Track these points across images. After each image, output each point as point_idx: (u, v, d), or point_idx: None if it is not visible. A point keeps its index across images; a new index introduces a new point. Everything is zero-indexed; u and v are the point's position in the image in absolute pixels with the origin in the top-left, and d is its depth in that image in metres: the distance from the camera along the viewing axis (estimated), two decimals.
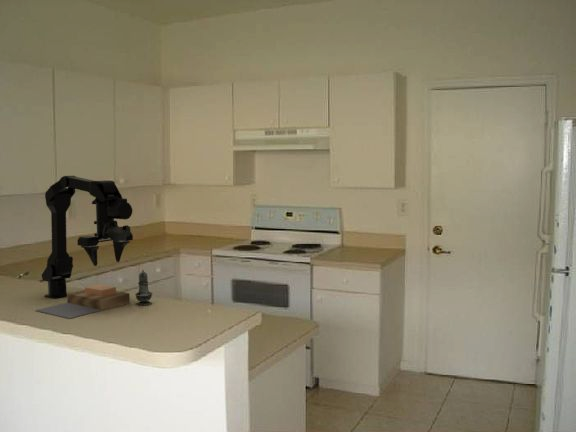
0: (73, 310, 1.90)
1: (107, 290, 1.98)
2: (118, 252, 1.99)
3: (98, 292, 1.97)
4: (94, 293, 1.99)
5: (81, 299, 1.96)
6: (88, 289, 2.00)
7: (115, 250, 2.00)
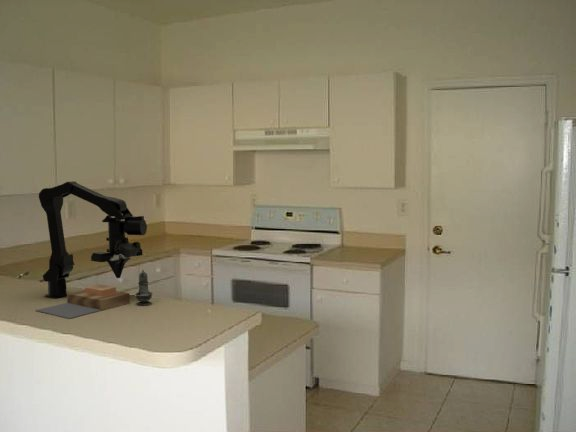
0: (73, 310, 1.90)
1: (107, 290, 1.98)
2: (119, 268, 2.07)
3: (98, 292, 1.97)
4: (94, 293, 1.99)
5: (81, 299, 1.96)
6: (88, 289, 2.00)
7: None
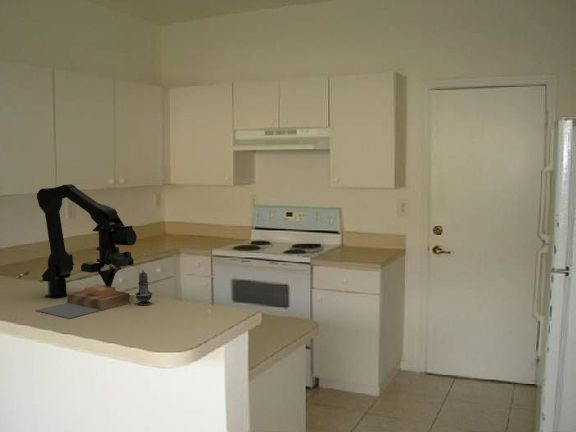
0: (73, 310, 1.90)
1: (107, 290, 1.98)
2: None
3: (98, 292, 1.97)
4: (94, 293, 1.98)
5: (81, 299, 1.96)
6: (88, 289, 2.00)
7: None
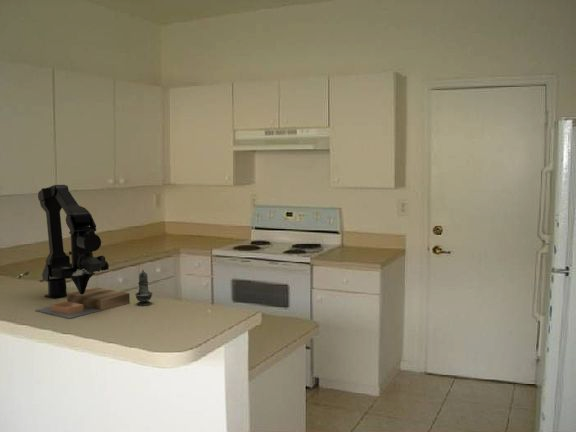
0: None
1: (77, 310, 1.88)
2: (83, 284, 1.95)
3: None
4: None
5: (81, 299, 1.96)
6: None
7: None
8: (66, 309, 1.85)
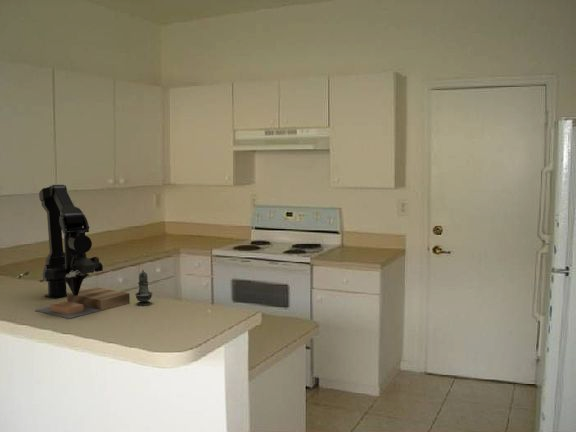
0: None
1: (77, 310, 1.88)
2: None
3: None
4: None
5: (81, 299, 1.96)
6: None
7: None
8: (66, 309, 1.85)
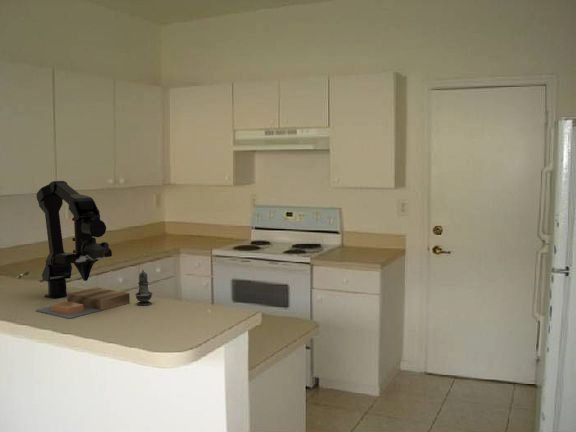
0: None
1: (77, 310, 1.88)
2: None
3: None
4: None
5: (81, 299, 1.96)
6: None
7: None
8: (66, 309, 1.85)
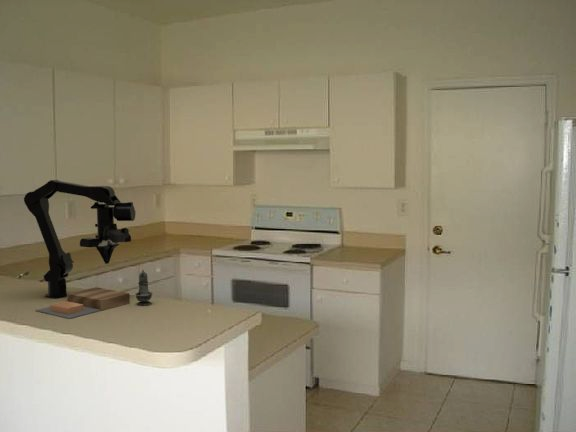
0: None
1: (77, 310, 1.88)
2: None
3: None
4: None
5: (81, 299, 1.96)
6: None
7: None
8: (66, 309, 1.85)
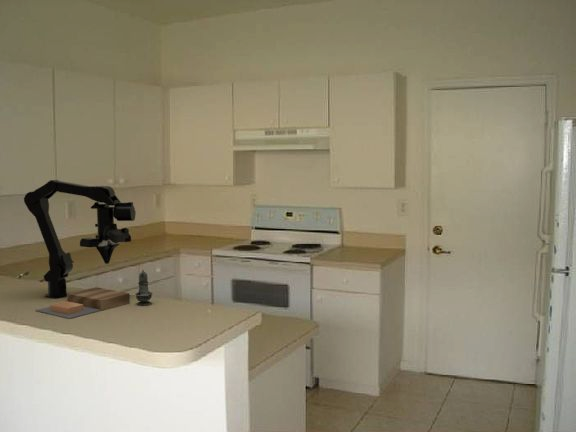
0: None
1: (77, 310, 1.88)
2: (108, 254, 2.10)
3: None
4: None
5: (81, 299, 1.96)
6: None
7: None
8: (66, 309, 1.85)
